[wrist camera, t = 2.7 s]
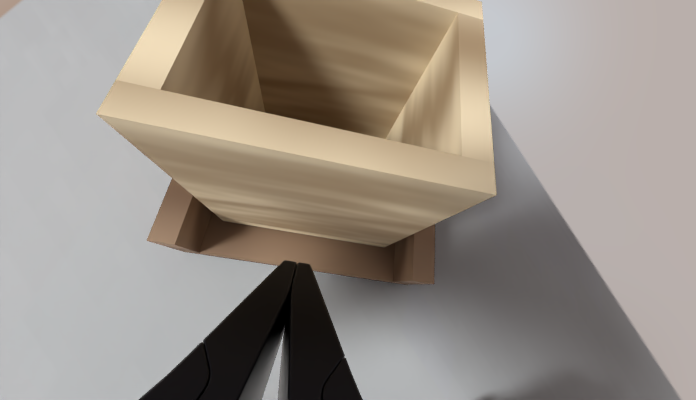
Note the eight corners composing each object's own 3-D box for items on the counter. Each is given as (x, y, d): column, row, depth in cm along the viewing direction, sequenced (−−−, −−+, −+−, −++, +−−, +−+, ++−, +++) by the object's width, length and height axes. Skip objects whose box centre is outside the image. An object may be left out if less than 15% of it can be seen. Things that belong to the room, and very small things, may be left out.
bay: (404, 284, 17) (456, 283, 11) (184, 251, 15) (116, 231, 10) (415, 80, 23) (452, 14, 17) (258, 40, 21) (243, -47, 16)
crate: (384, 247, 16) (496, 195, 7) (223, 220, 15) (96, 113, 6) (392, 141, 19) (481, 1, 10) (257, 111, 18) (209, -81, 8)
